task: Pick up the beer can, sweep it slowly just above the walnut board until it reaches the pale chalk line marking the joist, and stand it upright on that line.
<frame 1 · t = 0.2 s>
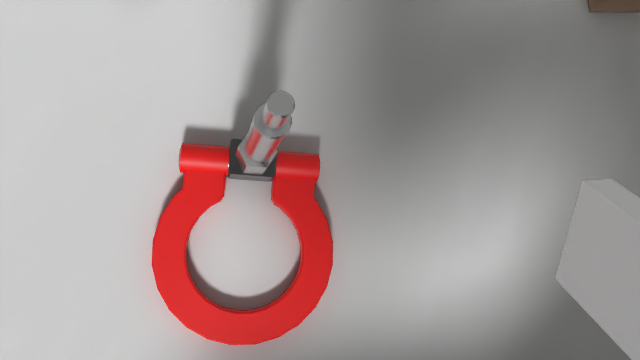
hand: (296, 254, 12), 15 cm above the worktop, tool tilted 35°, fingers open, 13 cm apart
tow hook: (244, 244, 27), on the worktop
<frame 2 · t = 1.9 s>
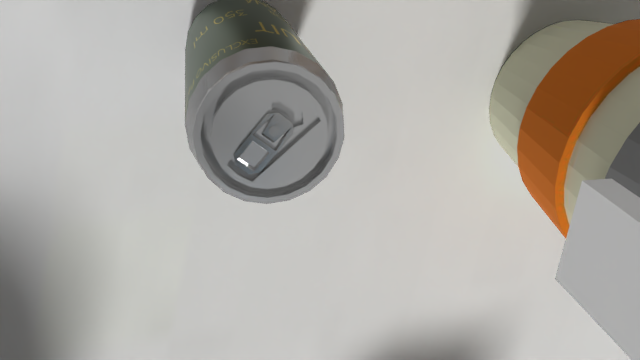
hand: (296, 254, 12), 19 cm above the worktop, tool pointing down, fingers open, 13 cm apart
reusable coffee cup: (556, 94, 34), on the worktop
beer can: (239, 47, 29), on the worktop
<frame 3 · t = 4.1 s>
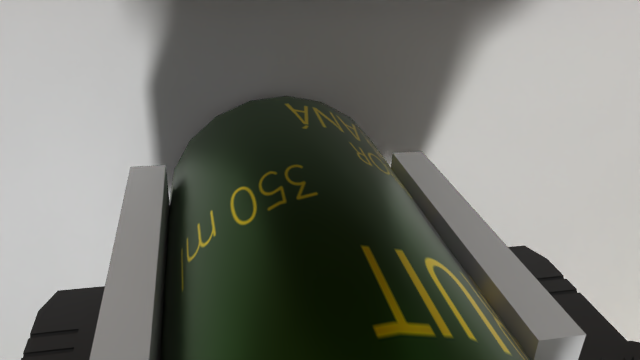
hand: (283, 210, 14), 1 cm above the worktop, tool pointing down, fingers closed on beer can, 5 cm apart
beer can: (275, 181, 15), on the worktop, touching gripper
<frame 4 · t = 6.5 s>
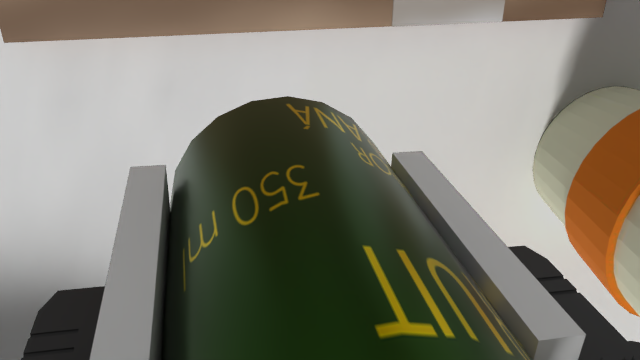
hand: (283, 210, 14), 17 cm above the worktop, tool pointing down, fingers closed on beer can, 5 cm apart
reusable coffee cup: (594, 151, 37), on the worktop
beer can: (276, 182, 15), point 16 cm above the worktop, touching gripper
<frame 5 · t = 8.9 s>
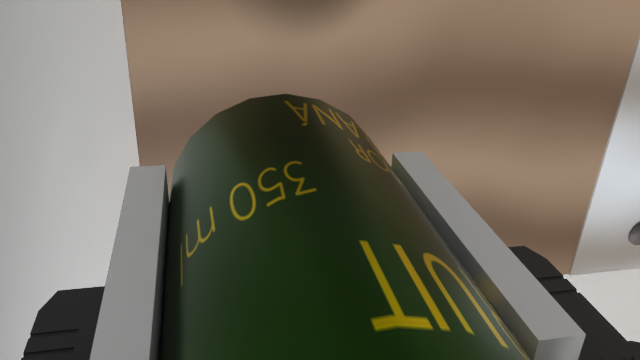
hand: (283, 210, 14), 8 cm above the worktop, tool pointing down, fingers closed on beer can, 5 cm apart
walnut board: (528, 95, 23), on the worktop
beer can: (274, 179, 15), point 6 cm above the worktop, touching gripper
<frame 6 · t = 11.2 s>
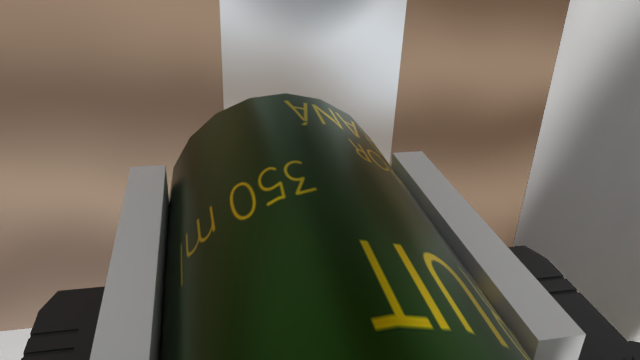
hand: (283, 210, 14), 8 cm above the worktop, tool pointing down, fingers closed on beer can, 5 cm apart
walnut board: (134, 107, 20), on the worktop
beer can: (274, 179, 15), point 6 cm above the worktop, touching gripper
when the fingers open (4 cm above the worktop, at t = 13.5 s): beer can stays where it is, resting on walnut board.
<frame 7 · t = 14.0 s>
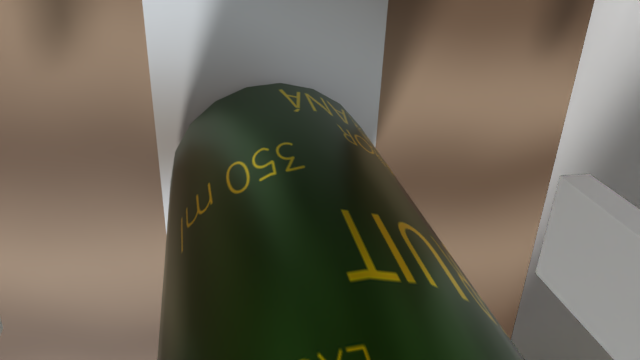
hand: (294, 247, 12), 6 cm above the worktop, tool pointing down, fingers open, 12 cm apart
walnut board: (53, 155, 16), on the worktop
beer can: (270, 165, 16), point 1 cm above the worktop, touching walnut board
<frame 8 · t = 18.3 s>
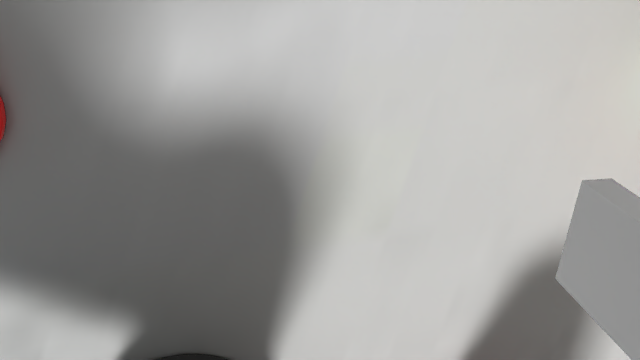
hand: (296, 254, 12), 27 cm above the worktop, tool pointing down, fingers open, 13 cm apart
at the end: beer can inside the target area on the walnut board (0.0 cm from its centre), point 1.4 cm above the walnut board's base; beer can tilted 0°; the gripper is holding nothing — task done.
